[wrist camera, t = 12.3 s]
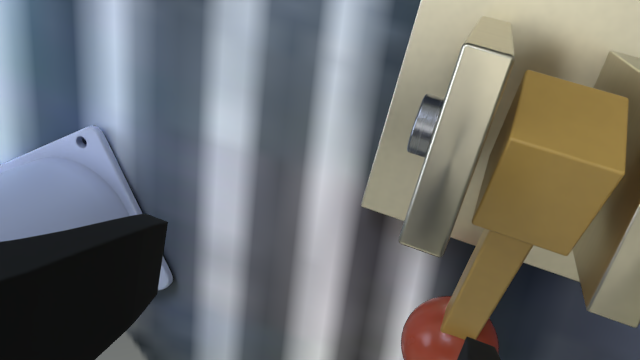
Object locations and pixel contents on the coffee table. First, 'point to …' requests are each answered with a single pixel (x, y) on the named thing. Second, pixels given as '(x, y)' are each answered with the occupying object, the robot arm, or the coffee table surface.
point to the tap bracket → (488, 117)
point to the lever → (528, 203)
